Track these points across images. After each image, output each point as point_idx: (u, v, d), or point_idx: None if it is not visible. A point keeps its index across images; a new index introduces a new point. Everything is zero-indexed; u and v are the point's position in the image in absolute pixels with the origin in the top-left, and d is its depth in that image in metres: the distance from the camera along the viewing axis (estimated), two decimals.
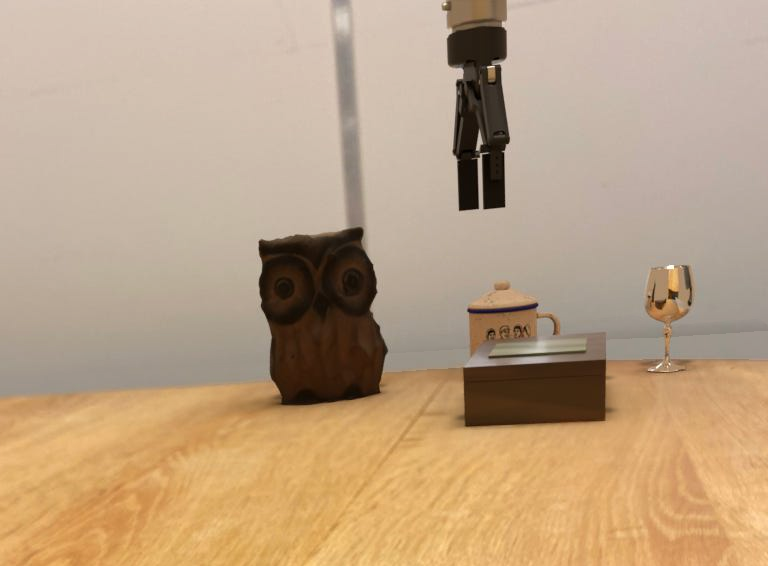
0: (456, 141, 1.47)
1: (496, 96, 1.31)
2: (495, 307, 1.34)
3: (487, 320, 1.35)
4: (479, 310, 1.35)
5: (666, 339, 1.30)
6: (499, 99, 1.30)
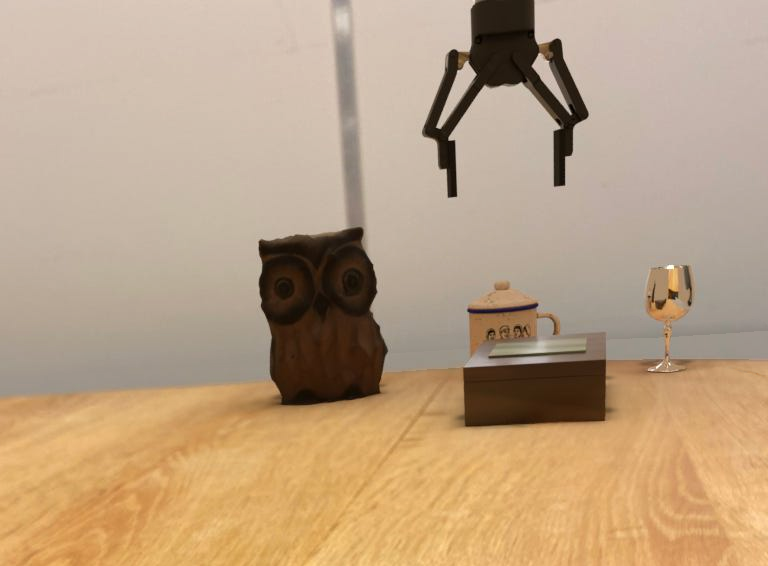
0: None
1: None
2: (495, 307, 1.34)
3: (487, 320, 1.35)
4: (479, 310, 1.35)
5: (666, 339, 1.30)
6: None
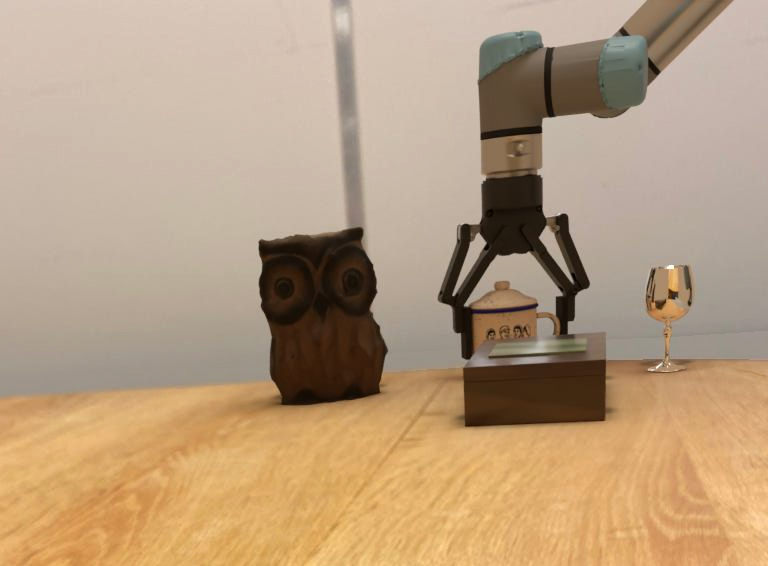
0: (454, 288, 1.35)
1: None
2: (495, 307, 1.34)
3: (487, 321, 1.35)
4: (479, 310, 1.35)
5: (666, 339, 1.30)
6: None
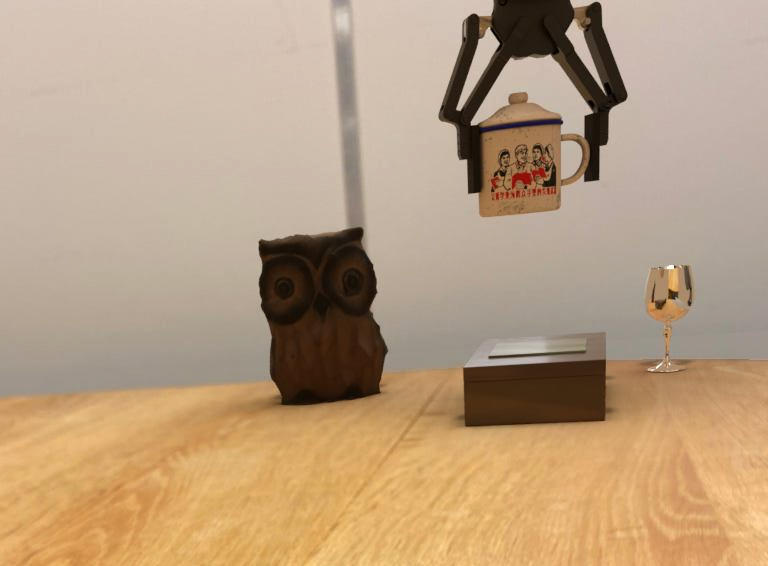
0: (459, 99, 1.09)
1: None
2: (510, 121, 1.07)
3: (500, 140, 1.09)
4: (490, 127, 1.09)
5: (666, 339, 1.30)
6: None
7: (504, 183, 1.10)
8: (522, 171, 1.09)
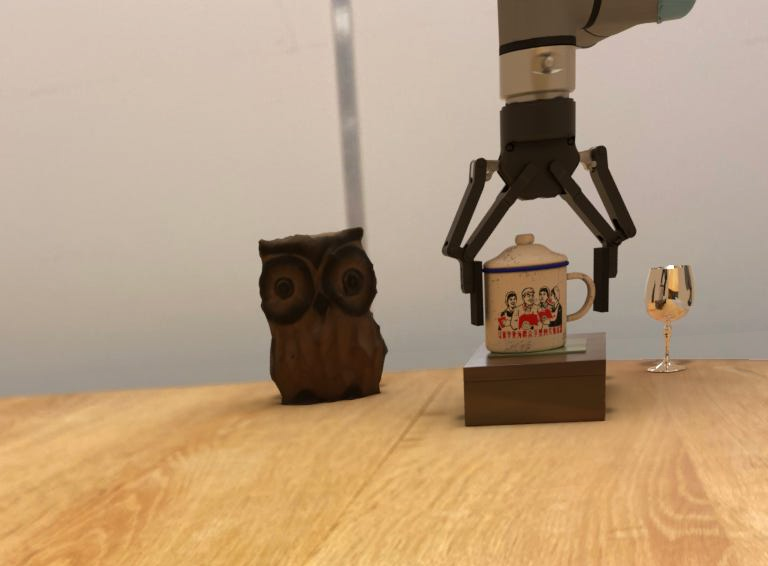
0: None
1: None
2: (517, 265, 1.09)
3: (507, 282, 1.10)
4: (497, 269, 1.10)
5: (666, 339, 1.30)
6: None
7: (511, 323, 1.12)
8: (529, 313, 1.11)
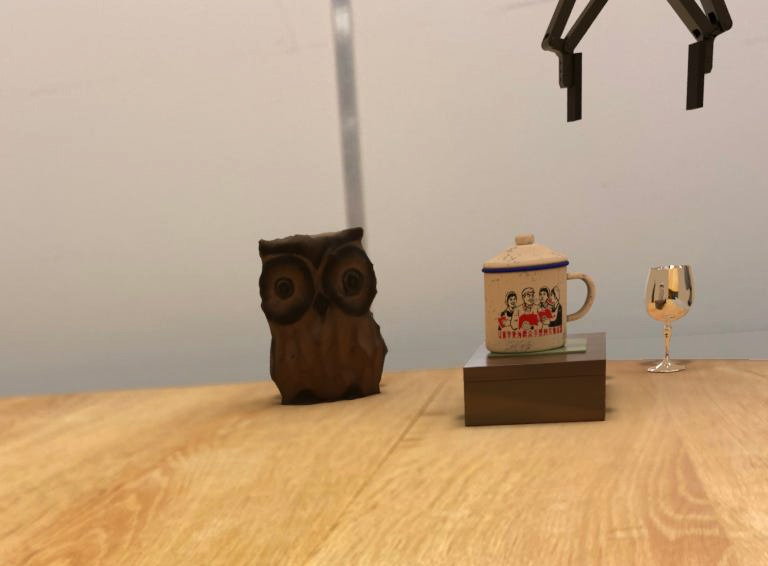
0: (564, 28, 1.13)
1: None
2: (517, 265, 1.09)
3: (507, 282, 1.10)
4: (497, 269, 1.10)
5: (666, 339, 1.30)
6: None
7: (511, 323, 1.12)
8: (529, 313, 1.11)
